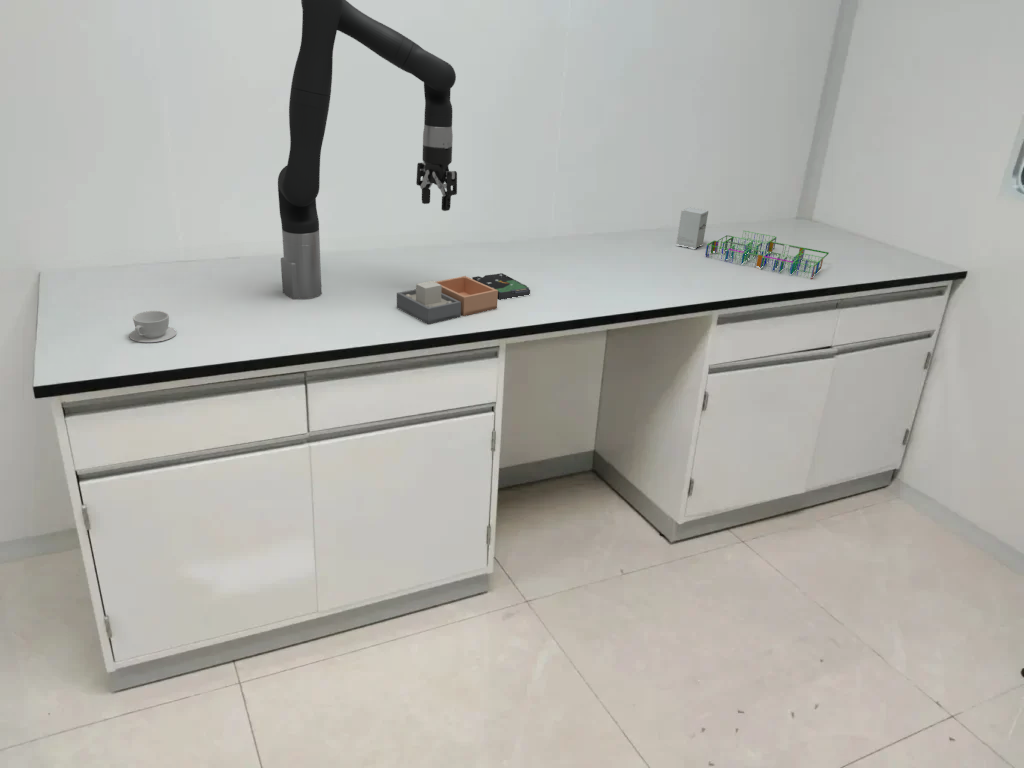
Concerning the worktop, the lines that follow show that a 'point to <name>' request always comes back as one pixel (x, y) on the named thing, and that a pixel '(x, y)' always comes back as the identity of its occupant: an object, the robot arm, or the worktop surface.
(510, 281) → the disk drive
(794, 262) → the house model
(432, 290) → the gray rectangular block
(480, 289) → the terracotta bin
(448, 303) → the gravel bin
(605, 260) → the worktop surface
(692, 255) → the worktop surface
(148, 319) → the teacup
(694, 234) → the supplement box
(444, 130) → the robot arm
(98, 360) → the worktop surface
